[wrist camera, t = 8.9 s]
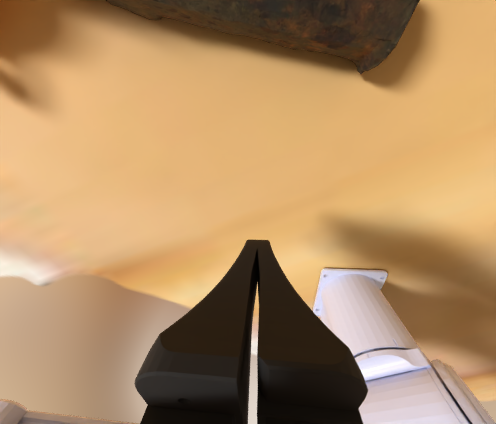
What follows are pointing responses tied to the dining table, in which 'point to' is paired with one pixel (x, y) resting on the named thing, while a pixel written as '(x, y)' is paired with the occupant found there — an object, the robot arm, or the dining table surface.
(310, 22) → the dark brown elongated piece
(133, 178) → the dining table surface
